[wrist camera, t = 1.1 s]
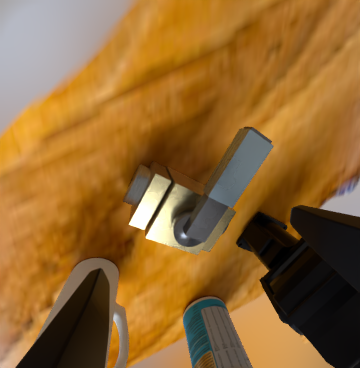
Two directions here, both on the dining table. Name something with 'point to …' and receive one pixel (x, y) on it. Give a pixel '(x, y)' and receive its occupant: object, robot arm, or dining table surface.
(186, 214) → the lever
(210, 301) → the beverage bottle
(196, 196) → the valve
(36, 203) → the dining table surface
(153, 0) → the dining table surface
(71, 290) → the mug
